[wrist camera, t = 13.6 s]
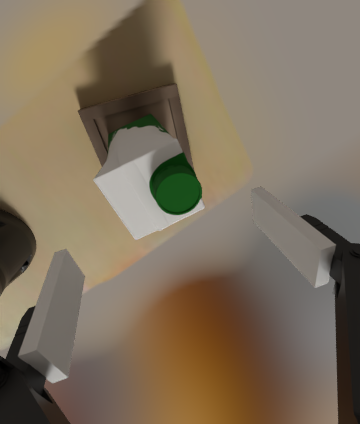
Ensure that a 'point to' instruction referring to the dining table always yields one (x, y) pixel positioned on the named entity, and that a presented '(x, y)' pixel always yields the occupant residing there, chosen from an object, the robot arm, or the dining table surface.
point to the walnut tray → (136, 117)
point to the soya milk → (148, 178)
